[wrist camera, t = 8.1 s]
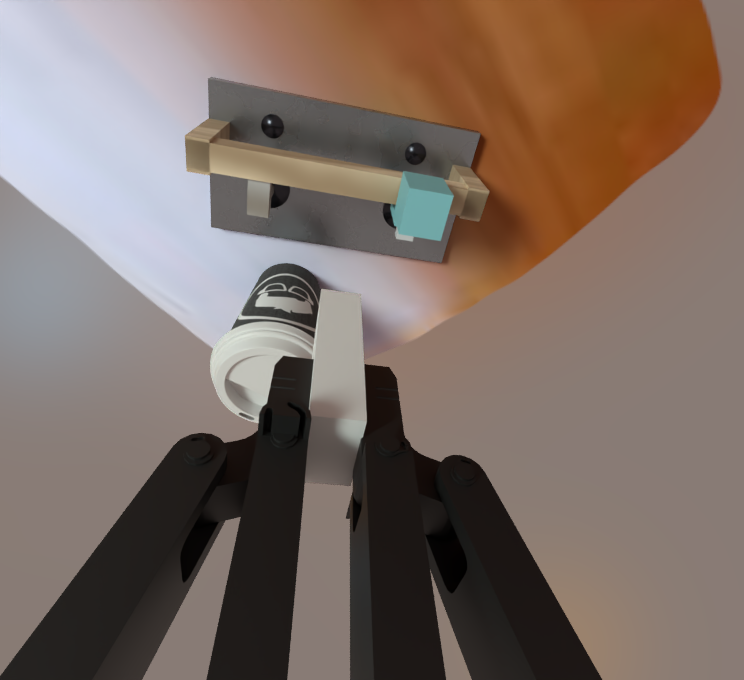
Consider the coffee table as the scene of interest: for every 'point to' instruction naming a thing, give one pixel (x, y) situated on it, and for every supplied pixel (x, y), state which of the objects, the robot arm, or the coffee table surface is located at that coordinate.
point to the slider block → (421, 207)
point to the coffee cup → (265, 337)
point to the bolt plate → (340, 142)
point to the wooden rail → (311, 173)
